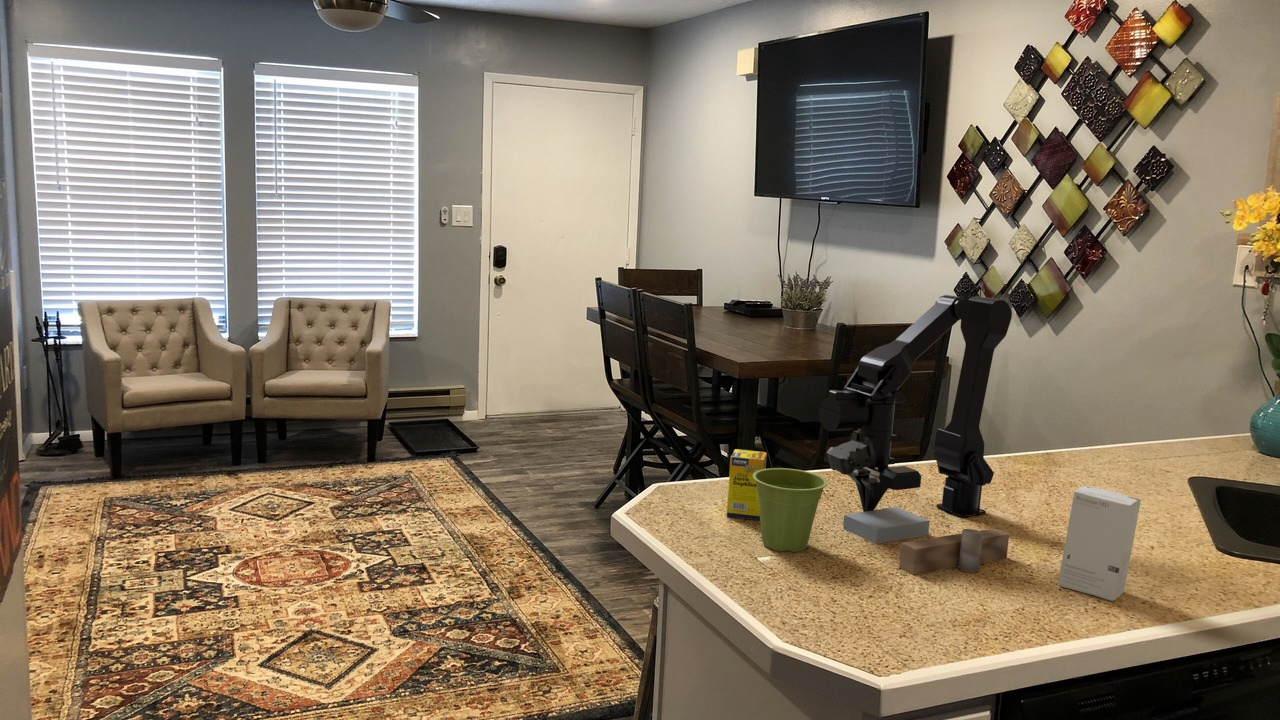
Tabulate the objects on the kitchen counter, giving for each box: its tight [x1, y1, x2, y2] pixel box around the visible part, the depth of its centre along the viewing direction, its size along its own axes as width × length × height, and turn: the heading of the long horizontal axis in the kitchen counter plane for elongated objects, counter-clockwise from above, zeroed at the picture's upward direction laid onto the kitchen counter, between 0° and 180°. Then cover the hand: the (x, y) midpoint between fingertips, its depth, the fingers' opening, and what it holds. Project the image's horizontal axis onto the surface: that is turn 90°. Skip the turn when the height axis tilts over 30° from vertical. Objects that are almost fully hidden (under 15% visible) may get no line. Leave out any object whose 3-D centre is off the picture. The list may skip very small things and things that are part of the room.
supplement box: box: [726, 448, 768, 521], centre depth 174 cm, size 6×6×11 cm
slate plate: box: [842, 506, 930, 545], centre depth 169 cm, size 12×8×3 cm, turn 120°
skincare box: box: [1058, 485, 1142, 602], centre depth 146 cm, size 8×6×15 cm
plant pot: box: [753, 467, 828, 553], centre depth 159 cm, size 12×12×11 cm
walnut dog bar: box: [898, 528, 1010, 575], centre depth 154 cm, size 20×6×6 cm, turn 118°
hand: (867, 514), depth 173 cm, fingers closed
